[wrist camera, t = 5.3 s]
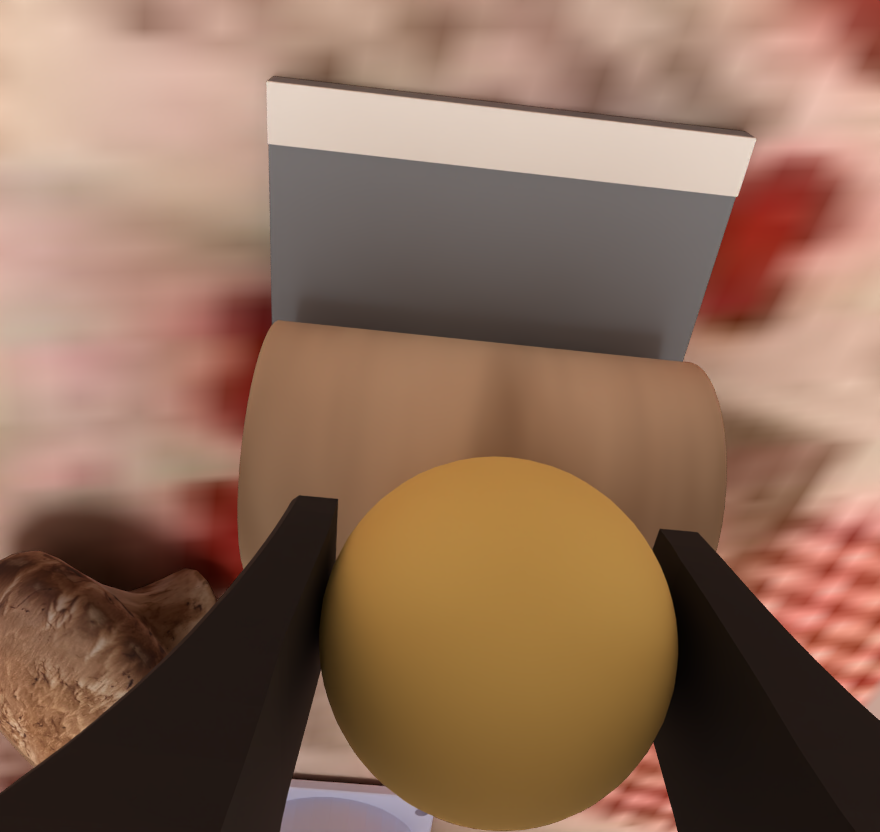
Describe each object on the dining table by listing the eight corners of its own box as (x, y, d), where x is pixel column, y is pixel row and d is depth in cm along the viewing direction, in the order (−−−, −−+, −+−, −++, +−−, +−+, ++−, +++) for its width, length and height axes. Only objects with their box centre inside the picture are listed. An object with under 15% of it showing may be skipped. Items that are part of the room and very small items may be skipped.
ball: (605, 630, 14) (660, 923, 10) (344, 604, 14) (286, 887, 10) (674, 409, 11) (789, 682, 7) (351, 376, 11) (274, 631, 7)
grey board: (585, 638, 24) (589, 655, 24) (281, 612, 24) (276, 629, 23) (744, 131, 16) (756, 138, 15) (273, 75, 15) (266, 81, 15)
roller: (618, 502, 20) (668, 670, 16) (293, 472, 20) (243, 635, 15) (674, 319, 17) (756, 458, 13) (292, 279, 17) (230, 408, 12)
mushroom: (292, 623, 19) (88, 837, 16) (276, 696, 26) (128, 859, 22) (86, 438, 21) (-141, 595, 17) (119, 550, 27) (-42, 681, 24)
